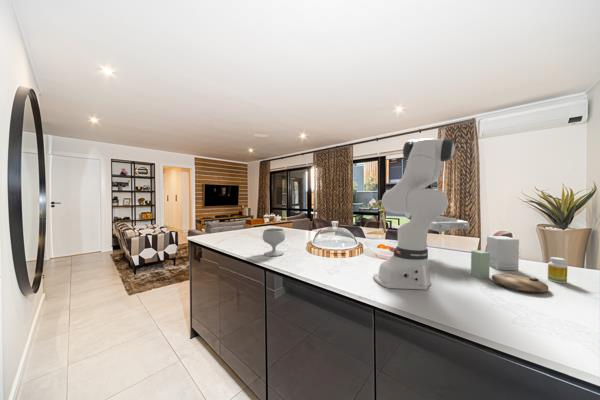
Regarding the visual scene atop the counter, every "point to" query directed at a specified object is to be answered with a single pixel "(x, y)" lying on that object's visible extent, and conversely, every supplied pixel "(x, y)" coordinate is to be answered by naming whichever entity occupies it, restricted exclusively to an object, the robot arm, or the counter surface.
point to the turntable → (520, 282)
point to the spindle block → (480, 263)
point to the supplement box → (503, 252)
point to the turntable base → (519, 290)
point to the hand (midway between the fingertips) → (459, 227)
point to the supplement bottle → (557, 270)
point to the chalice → (274, 240)
